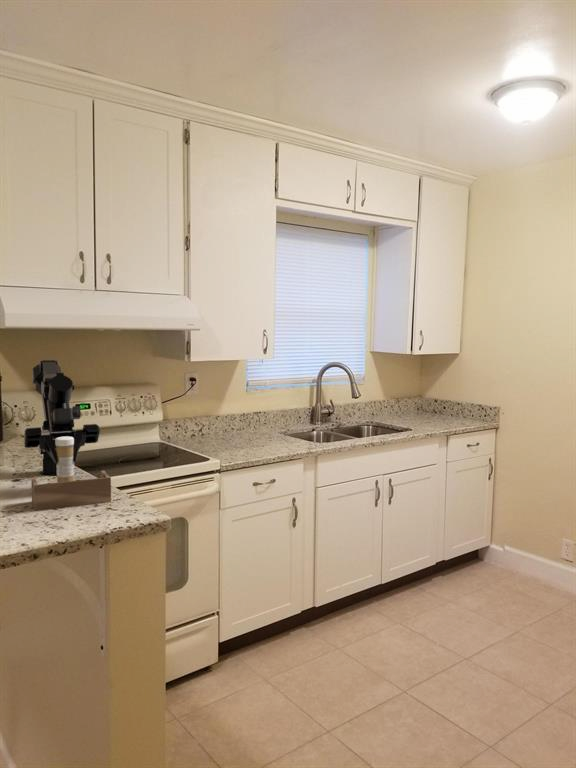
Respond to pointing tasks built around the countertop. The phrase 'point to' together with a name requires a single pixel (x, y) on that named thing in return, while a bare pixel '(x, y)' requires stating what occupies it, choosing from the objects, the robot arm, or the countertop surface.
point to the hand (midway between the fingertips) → (65, 461)
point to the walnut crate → (71, 492)
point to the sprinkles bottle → (65, 458)
